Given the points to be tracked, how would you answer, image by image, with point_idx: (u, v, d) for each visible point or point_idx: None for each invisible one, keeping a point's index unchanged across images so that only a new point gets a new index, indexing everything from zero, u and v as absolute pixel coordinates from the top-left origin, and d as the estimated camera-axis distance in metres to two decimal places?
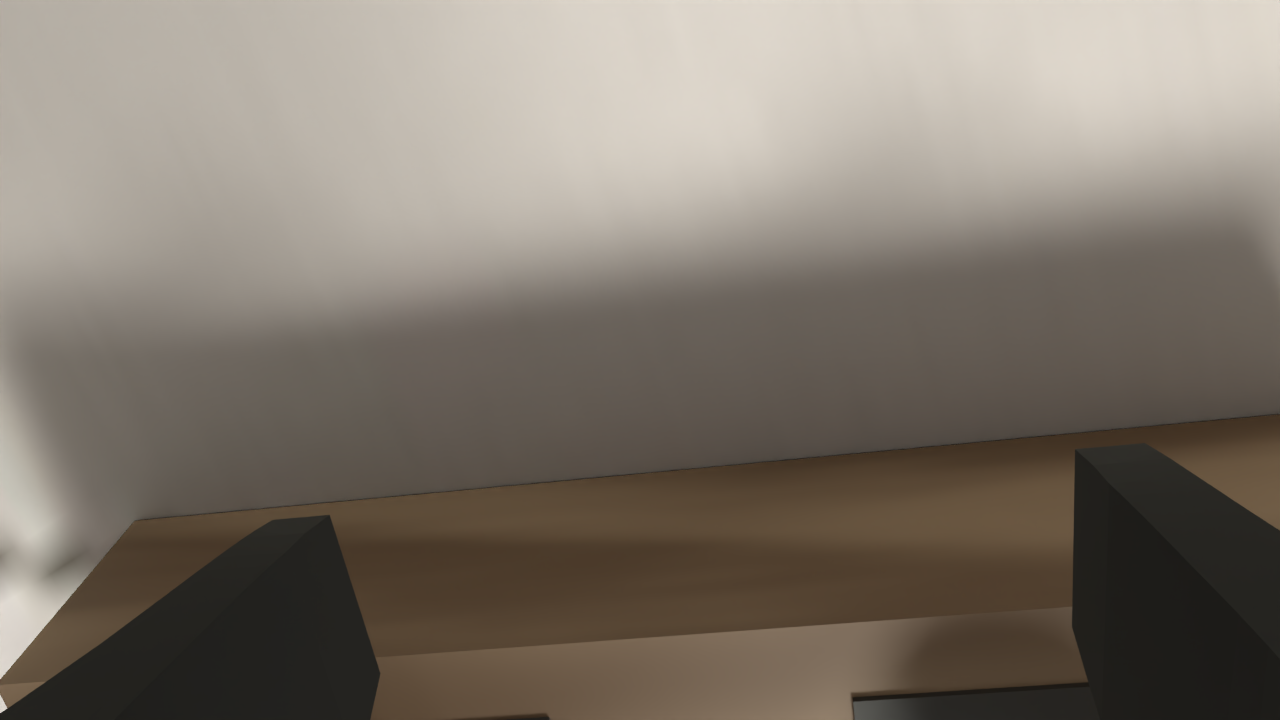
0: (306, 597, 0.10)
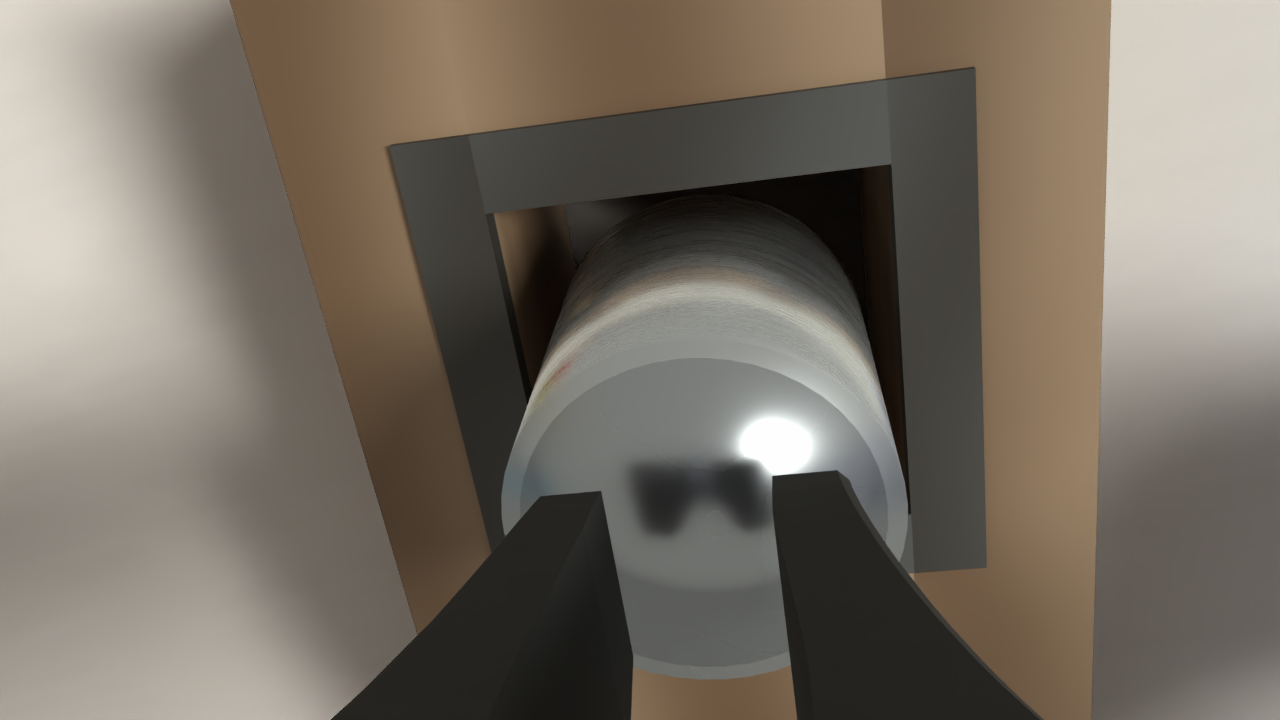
0: (595, 575, 0.10)
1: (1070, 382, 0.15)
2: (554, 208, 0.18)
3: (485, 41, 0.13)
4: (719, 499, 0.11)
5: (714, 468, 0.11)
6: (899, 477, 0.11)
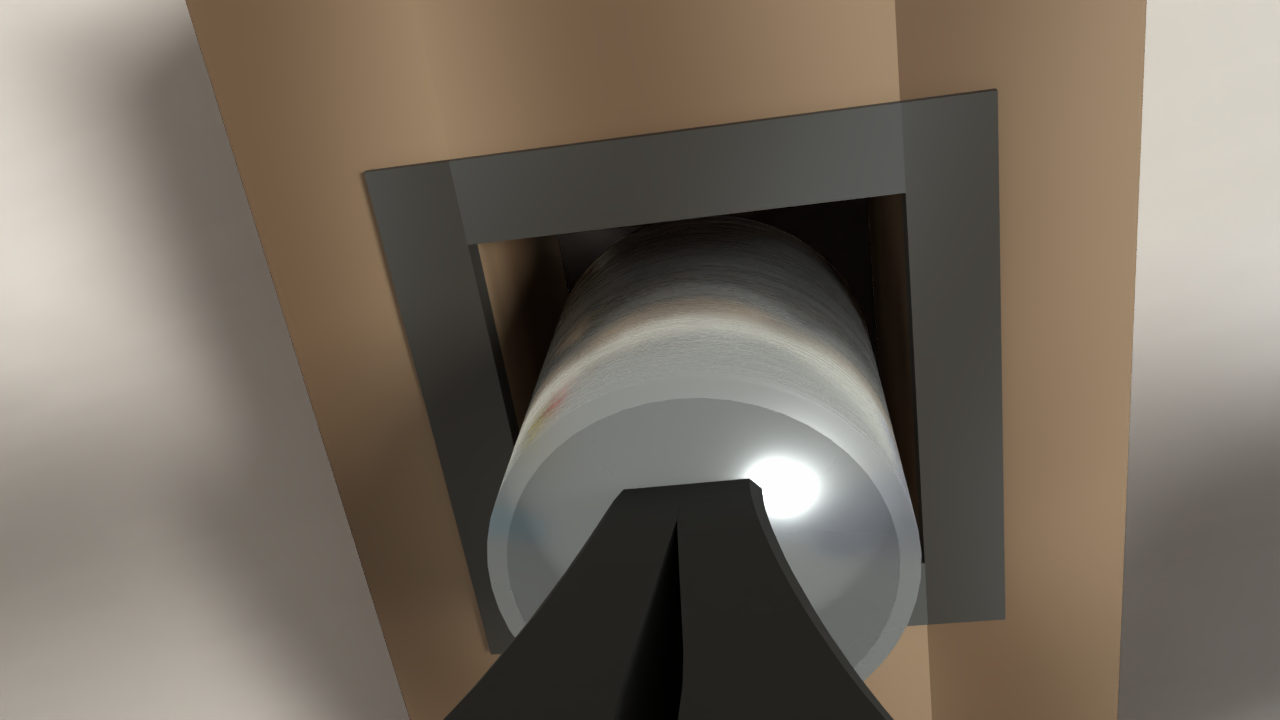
0: None
1: (1097, 425, 0.14)
2: None
3: (466, 60, 0.12)
4: None
5: None
6: (912, 524, 0.10)
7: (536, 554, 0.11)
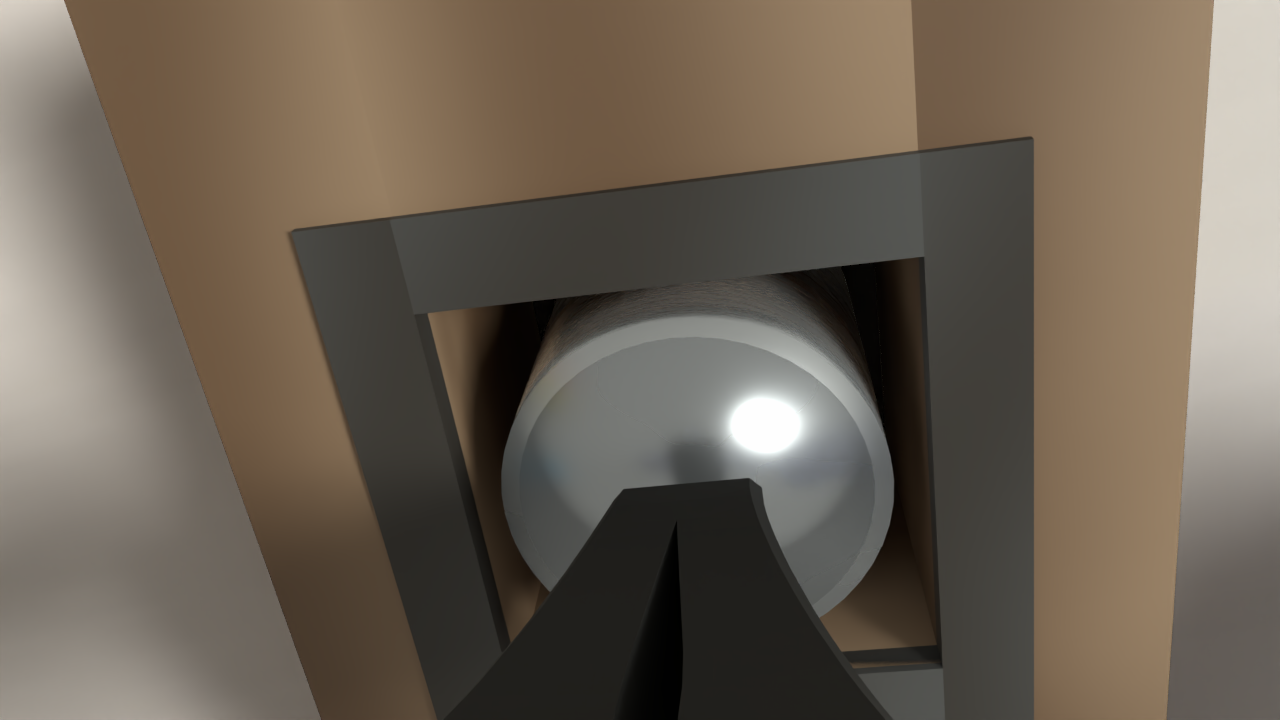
0: None
1: (1142, 516, 0.12)
2: None
3: (408, 102, 0.10)
4: (711, 475, 0.12)
5: (707, 444, 0.12)
6: (885, 452, 0.12)
7: (546, 483, 0.12)
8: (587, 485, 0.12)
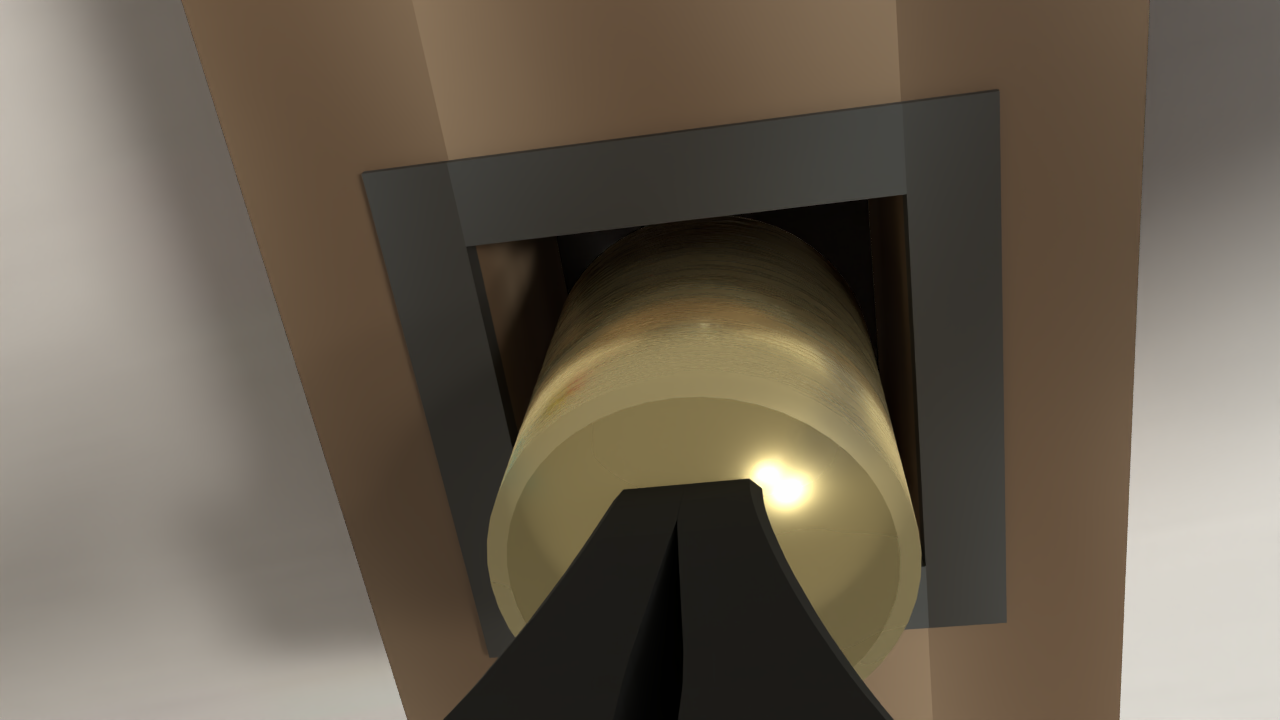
0: None
1: None
2: None
3: None
4: None
5: None
6: None
7: None
8: None
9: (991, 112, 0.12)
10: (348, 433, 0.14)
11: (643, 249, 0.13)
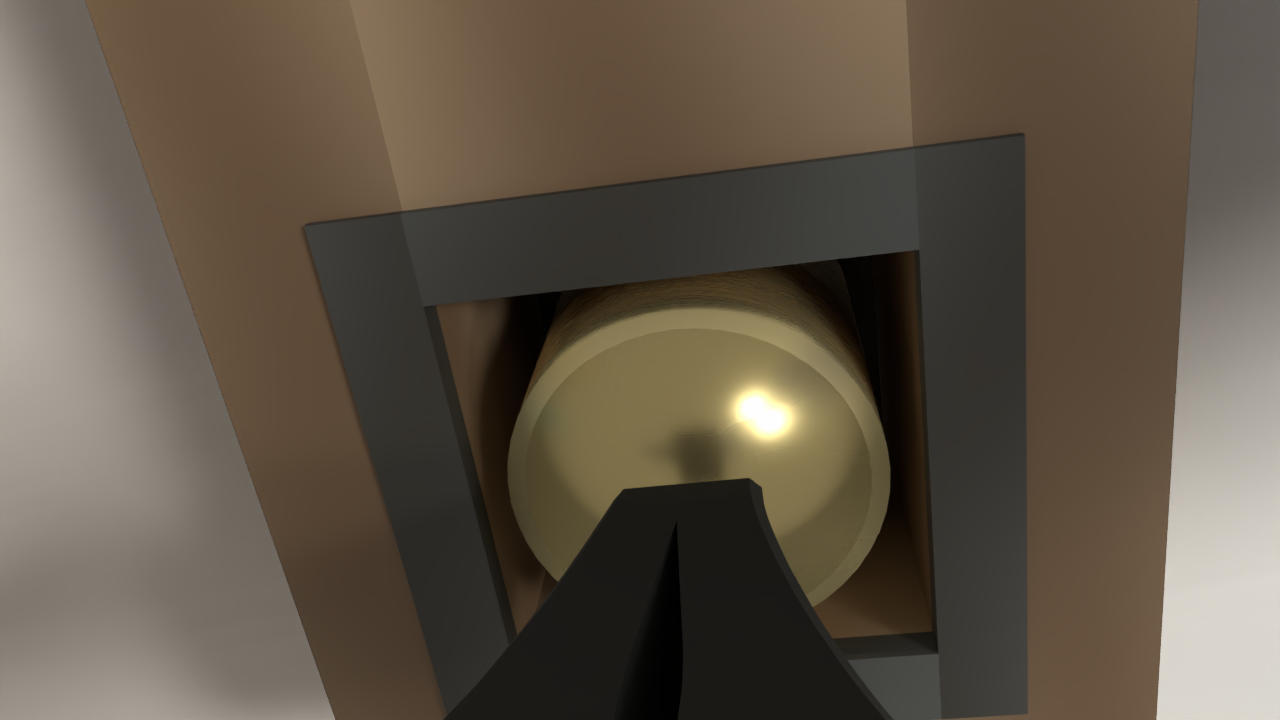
0: None
1: None
2: None
3: None
4: None
5: None
6: None
7: None
8: None
9: (1015, 159, 0.11)
10: (296, 509, 0.13)
11: None
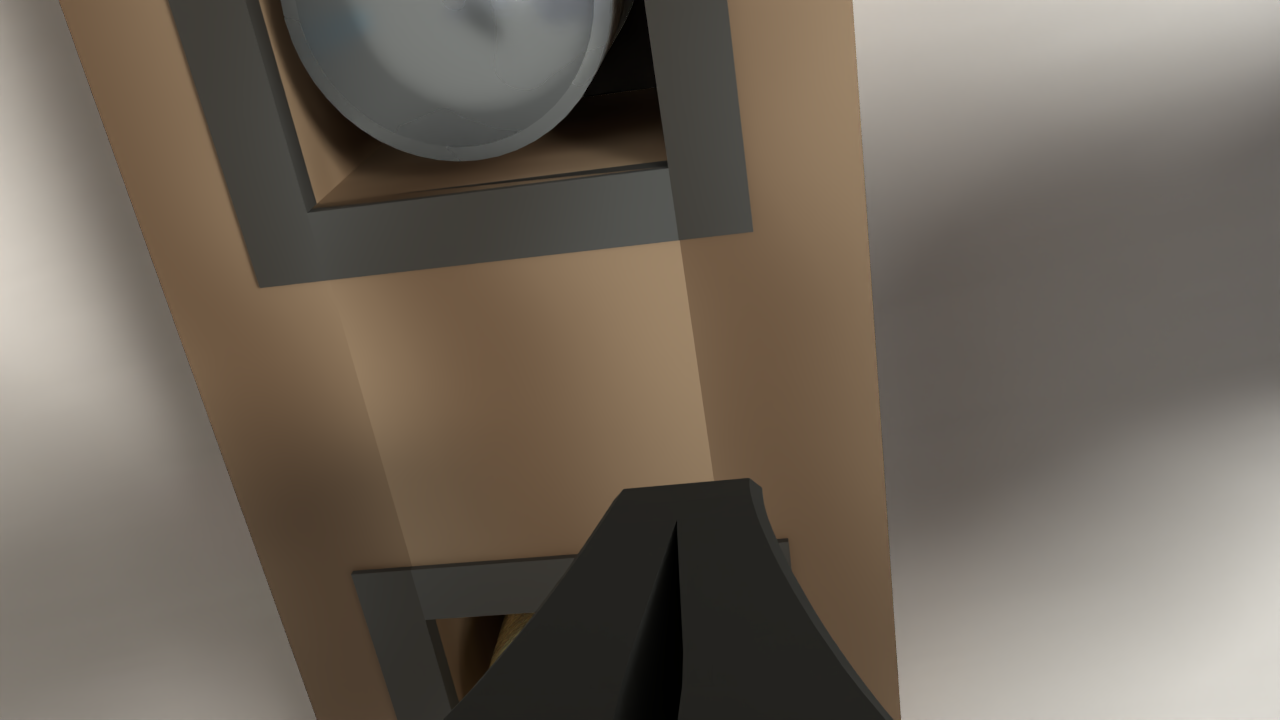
0: None
1: (821, 4, 0.14)
2: None
3: None
4: None
5: None
6: None
7: None
8: None
9: (785, 552, 0.17)
10: None
11: None
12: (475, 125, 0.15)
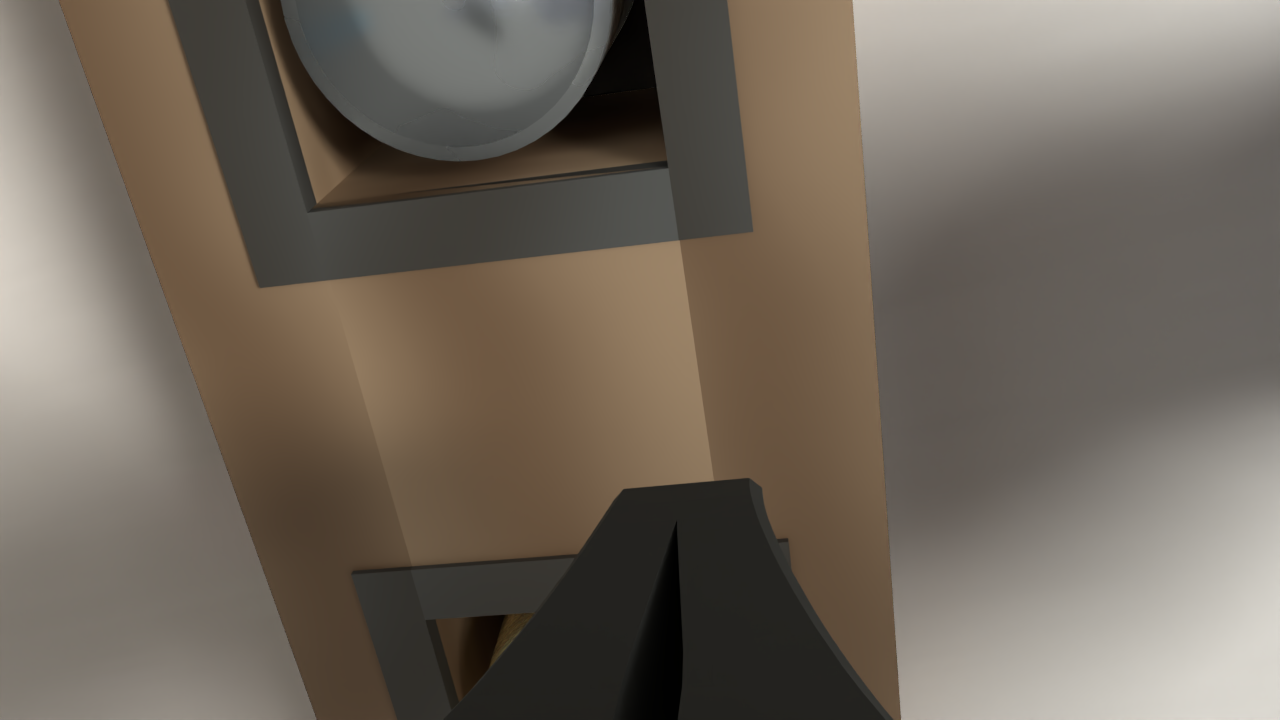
0: None
1: (821, 4, 0.14)
2: None
3: None
4: None
5: None
6: None
7: None
8: None
9: (785, 552, 0.17)
10: None
11: None
12: (475, 125, 0.15)
